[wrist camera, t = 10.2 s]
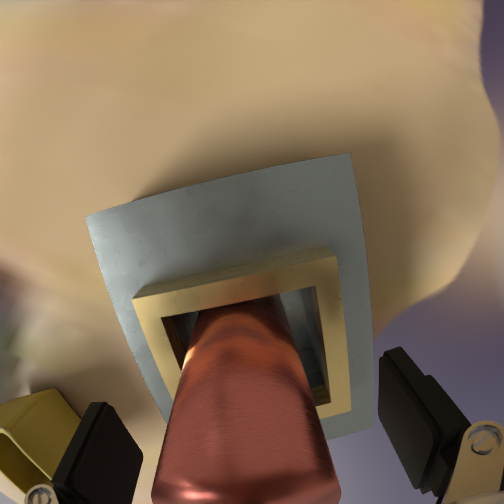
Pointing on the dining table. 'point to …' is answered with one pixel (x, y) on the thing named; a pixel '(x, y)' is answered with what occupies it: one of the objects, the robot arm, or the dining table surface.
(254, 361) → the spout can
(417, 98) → the dining table surface
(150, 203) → the grey box with hole
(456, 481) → the robot arm
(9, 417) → the flower pot
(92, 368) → the dining table surface
